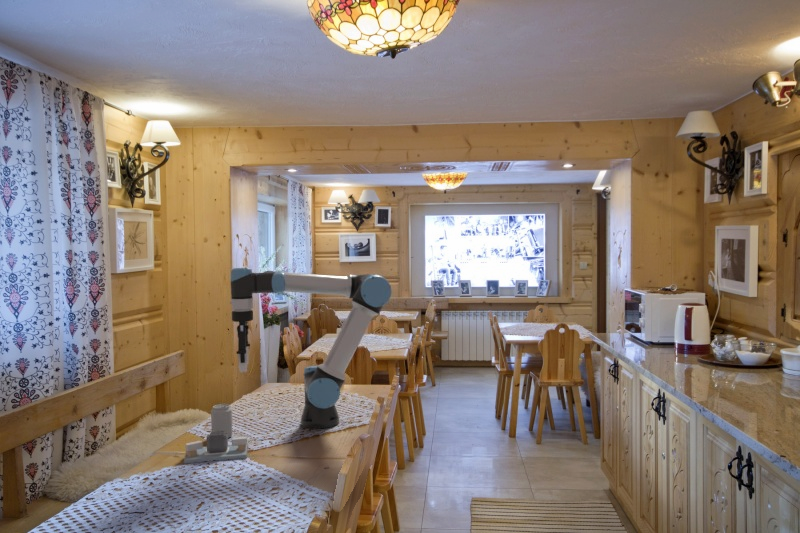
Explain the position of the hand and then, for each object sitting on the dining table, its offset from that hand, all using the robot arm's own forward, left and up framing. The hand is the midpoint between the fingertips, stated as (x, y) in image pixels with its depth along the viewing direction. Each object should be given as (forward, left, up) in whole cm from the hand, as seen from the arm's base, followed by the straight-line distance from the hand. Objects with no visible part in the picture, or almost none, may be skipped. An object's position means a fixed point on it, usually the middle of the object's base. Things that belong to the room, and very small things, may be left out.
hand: (244, 368), depth 220 cm
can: (+9, -6, -27) cm, 29 cm away
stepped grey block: (+9, +14, -25) cm, 30 cm away
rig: (+9, +14, -27) cm, 31 cm away
